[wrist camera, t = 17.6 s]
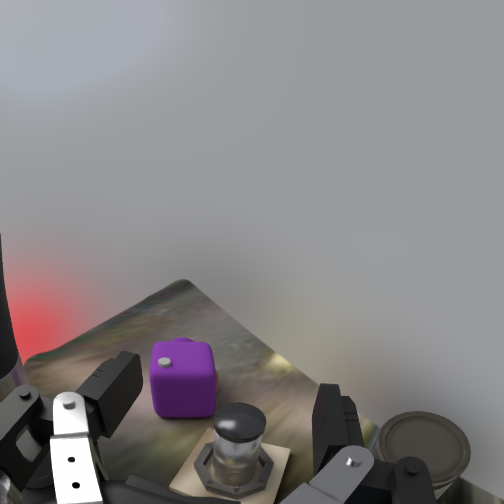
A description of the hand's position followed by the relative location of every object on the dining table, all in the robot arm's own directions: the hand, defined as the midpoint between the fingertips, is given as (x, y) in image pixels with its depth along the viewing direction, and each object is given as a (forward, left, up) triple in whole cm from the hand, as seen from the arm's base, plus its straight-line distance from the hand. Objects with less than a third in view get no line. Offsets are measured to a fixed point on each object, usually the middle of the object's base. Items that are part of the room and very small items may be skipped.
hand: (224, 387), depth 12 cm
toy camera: (-16, +24, -26) cm, 39 cm away
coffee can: (+16, +10, -26) cm, 32 cm away
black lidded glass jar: (-3, +12, -25) cm, 28 cm away
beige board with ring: (-3, +12, -26) cm, 29 cm away
